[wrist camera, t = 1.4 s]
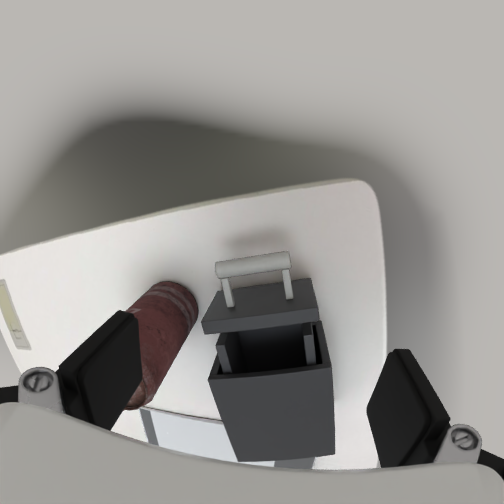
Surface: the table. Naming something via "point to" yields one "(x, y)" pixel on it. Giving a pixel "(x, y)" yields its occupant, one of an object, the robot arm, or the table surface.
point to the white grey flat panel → (200, 438)
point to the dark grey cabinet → (279, 408)
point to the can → (160, 334)
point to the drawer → (262, 318)
